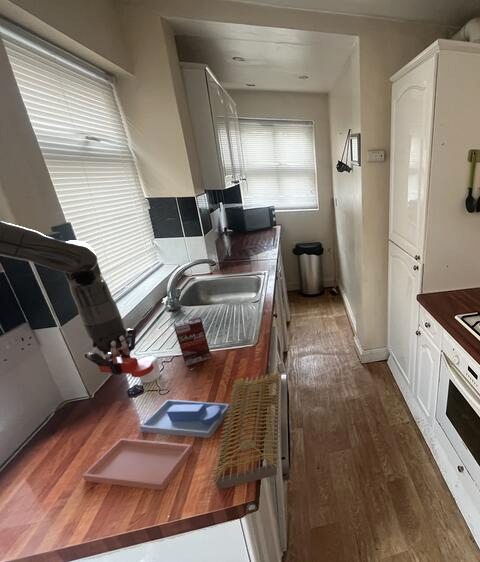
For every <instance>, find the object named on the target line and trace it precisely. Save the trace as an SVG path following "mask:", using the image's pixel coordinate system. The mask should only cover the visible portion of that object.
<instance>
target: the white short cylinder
mask: <svg viewBox="0 0 480 562" xmlns="http://www.w3.org/2000/svg"><path fill="white" fill-rule="evenodd" d="M136 359H137V361H138V363H139V362H141V361H151V362H152V364H153V367H154V369H153V370H152V371H151V372H150V373H149V374H147V375H144V376H141V377H138V378H139V380H140V382H141V383H143V384H147V383H152V382H154V381H156V380H158V379H159V378H160V377H161V369H160V365H159V359H158V356H157V355H156V354H146V355H143V356H140V357H139V358H136Z"/></svg>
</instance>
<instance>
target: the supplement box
mask: <svg viewBox="0 0 480 562" xmlns="http://www.w3.org/2000/svg"><path fill="white" fill-rule="evenodd" d="M173 327H174V332H175V335H176V338H177V339H176V340H177V342H178V346H179V348H180V352H181V355H182V358H183V362H184V364H185V366H186V367H187V366H190V365H194V364H197V363H201V362H202V361H203V362H204V361H206V360H209V359H210V360H211V359H212V355H211V350H210V347H209V344H208V338H207V335H206V331H205V327H204V324H203V320H202V316H198V317H194V318H190V319H186V320H182V321H178V322H174V323H173Z"/></svg>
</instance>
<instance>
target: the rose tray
mask: <svg viewBox="0 0 480 562" xmlns="http://www.w3.org/2000/svg"><path fill="white" fill-rule="evenodd" d="M193 452H194V448H193V445H192V444H188V443H187V444H186V443H178V442H166V441H156V440H145V439H135V438H123V437H120V438H119V439H118V440H117V441H116V442H115V443H114V444H113V445H112V446H111V447H110V448H109V449H108V450H107V451H106V452H105V453H103V455H102V456H100V457H99V458H98V459H97V460H96V461H95V462H94V463H93V464H92V465H91V466H90V467H89V468H88V469H87V470H86V471H85V472H84V473H83V474H82V475H81V477H82V478H83V480H84V482H89V483H97V484H106V485H114V486H123V487H130V488H138V489H139V488H140V489H149V490H156V491H165V489H166V488H167V487H168V485H169V483H170V482H171V481H172V480H173V479H174V477H175V476H176V474H177V473H178V472H179V470H180V469H181V468H182V466H183V465H184V464H185V462H187V460H188V459H189V457H190V456H191V454H192V453H193Z"/></svg>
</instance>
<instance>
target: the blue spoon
mask: <svg viewBox="0 0 480 562" xmlns="http://www.w3.org/2000/svg"><path fill="white" fill-rule="evenodd" d="M166 412H167V414H168V416H169V418H170V420H171V421H201V423H202V424H204V425H208V424H211V423H213V422H215V421H216V420H218V419H219V418H220V416H221V410H220V408H219V406H216V405H214V406H210V407H208V408H205V406H204V404H194V405H172V406H171V407H170V408H169V409H168V410H167V411H166Z"/></svg>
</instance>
